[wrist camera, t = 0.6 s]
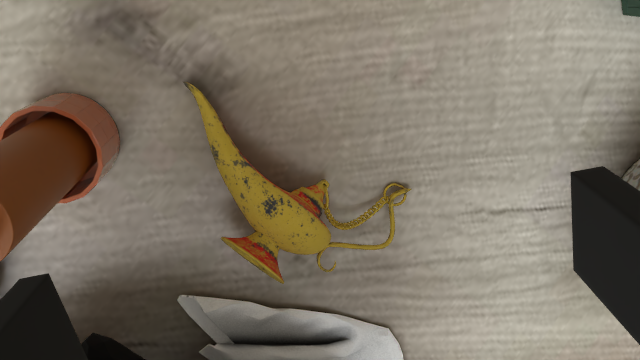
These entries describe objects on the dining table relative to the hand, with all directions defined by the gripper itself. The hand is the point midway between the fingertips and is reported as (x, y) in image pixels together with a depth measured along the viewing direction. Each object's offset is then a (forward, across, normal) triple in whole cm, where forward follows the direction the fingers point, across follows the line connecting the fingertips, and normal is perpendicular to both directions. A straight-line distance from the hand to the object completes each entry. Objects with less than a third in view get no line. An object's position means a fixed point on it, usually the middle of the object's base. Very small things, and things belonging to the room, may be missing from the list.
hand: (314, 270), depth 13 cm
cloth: (+24, -4, -24) cm, 34 cm away
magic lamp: (+19, -7, -9) cm, 22 cm away
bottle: (+23, -16, 0) cm, 28 cm away
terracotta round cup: (+24, -16, 0) cm, 29 cm away
